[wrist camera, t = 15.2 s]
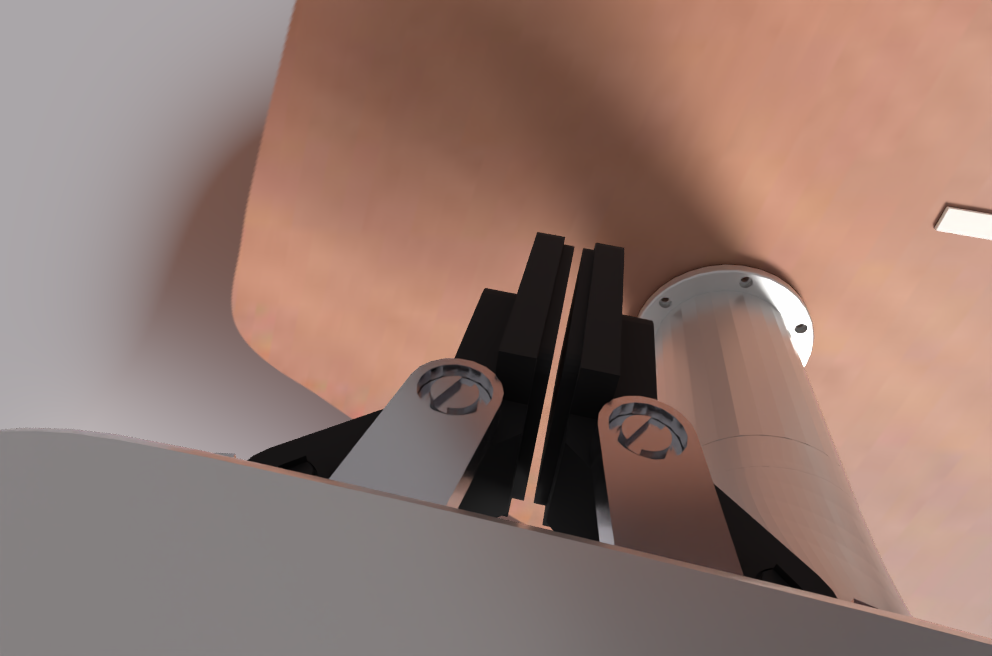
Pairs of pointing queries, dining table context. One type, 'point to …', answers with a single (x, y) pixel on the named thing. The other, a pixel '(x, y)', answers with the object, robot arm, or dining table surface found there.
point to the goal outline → (965, 223)
